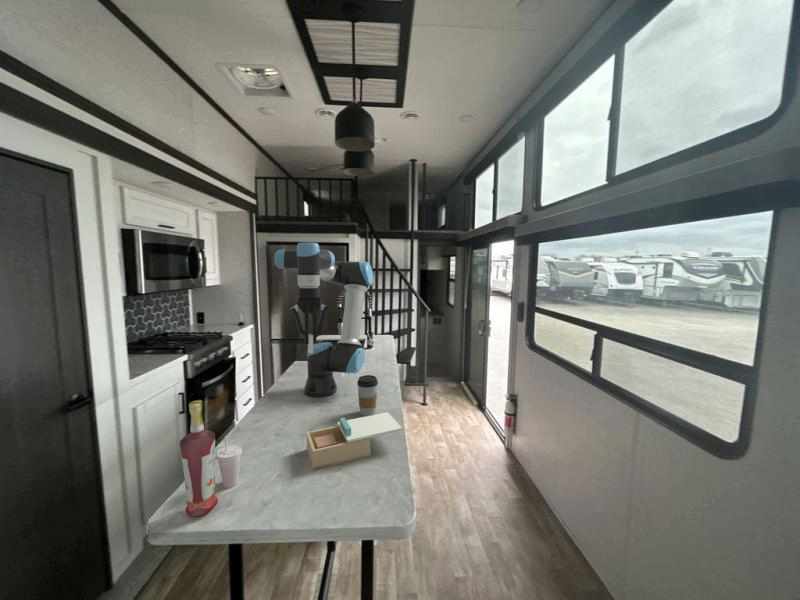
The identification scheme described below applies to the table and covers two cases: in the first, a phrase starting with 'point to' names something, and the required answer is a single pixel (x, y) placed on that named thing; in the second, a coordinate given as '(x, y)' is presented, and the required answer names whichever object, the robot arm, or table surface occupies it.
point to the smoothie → (229, 464)
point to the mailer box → (334, 448)
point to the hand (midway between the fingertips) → (310, 352)
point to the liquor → (199, 464)
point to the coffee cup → (367, 394)
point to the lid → (368, 426)
